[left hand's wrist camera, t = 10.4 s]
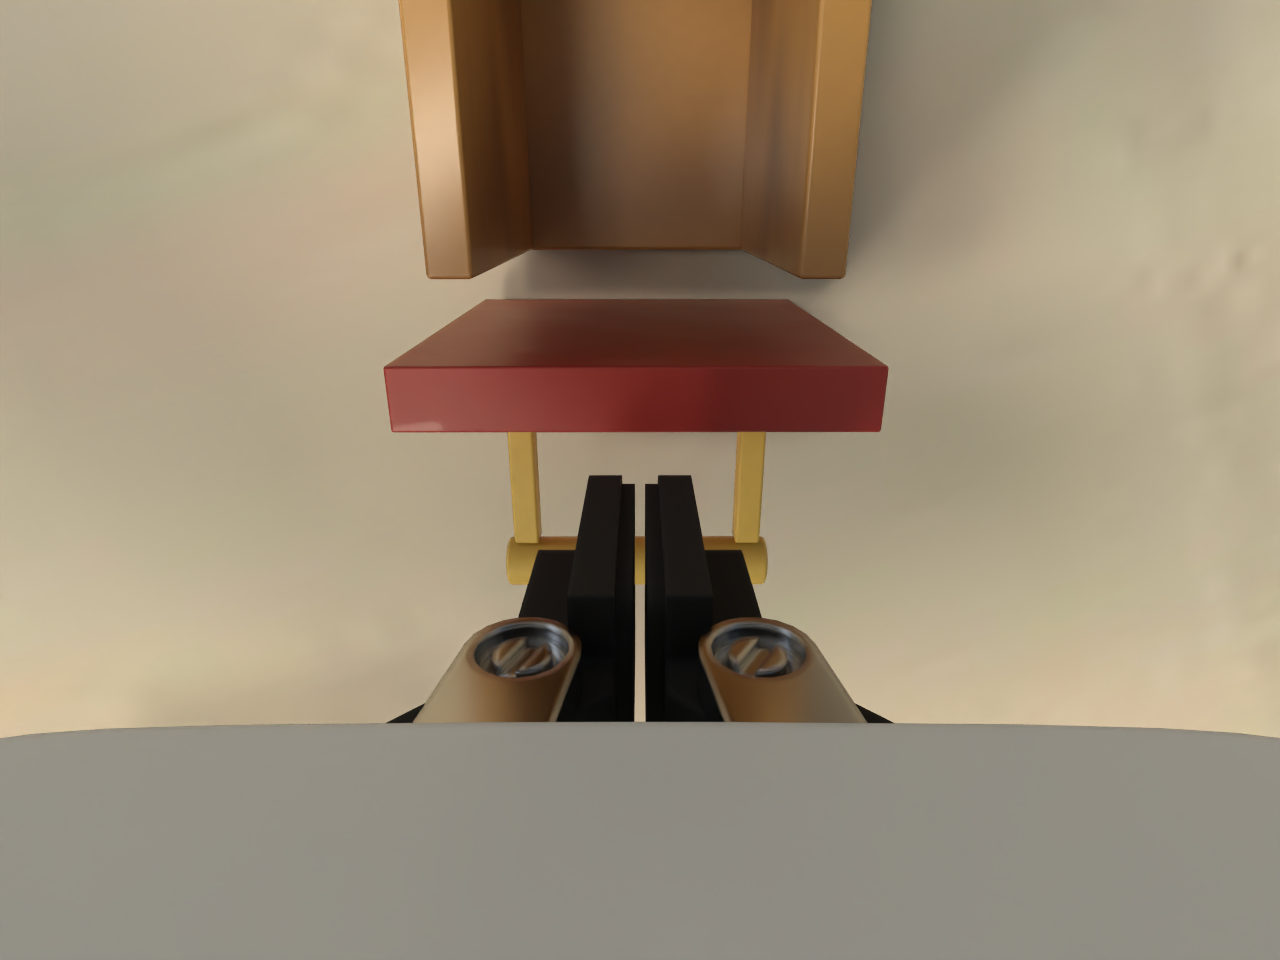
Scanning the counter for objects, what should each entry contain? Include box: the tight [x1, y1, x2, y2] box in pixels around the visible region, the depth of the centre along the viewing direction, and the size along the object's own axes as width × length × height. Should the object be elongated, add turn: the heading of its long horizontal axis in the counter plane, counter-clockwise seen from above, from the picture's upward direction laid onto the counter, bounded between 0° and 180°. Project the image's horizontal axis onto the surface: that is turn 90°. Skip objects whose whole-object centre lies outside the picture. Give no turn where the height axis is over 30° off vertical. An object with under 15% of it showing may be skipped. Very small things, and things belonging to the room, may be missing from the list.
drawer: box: [384, 0, 888, 585], centre depth 15 cm, size 25×9×9 cm, turn 0°
